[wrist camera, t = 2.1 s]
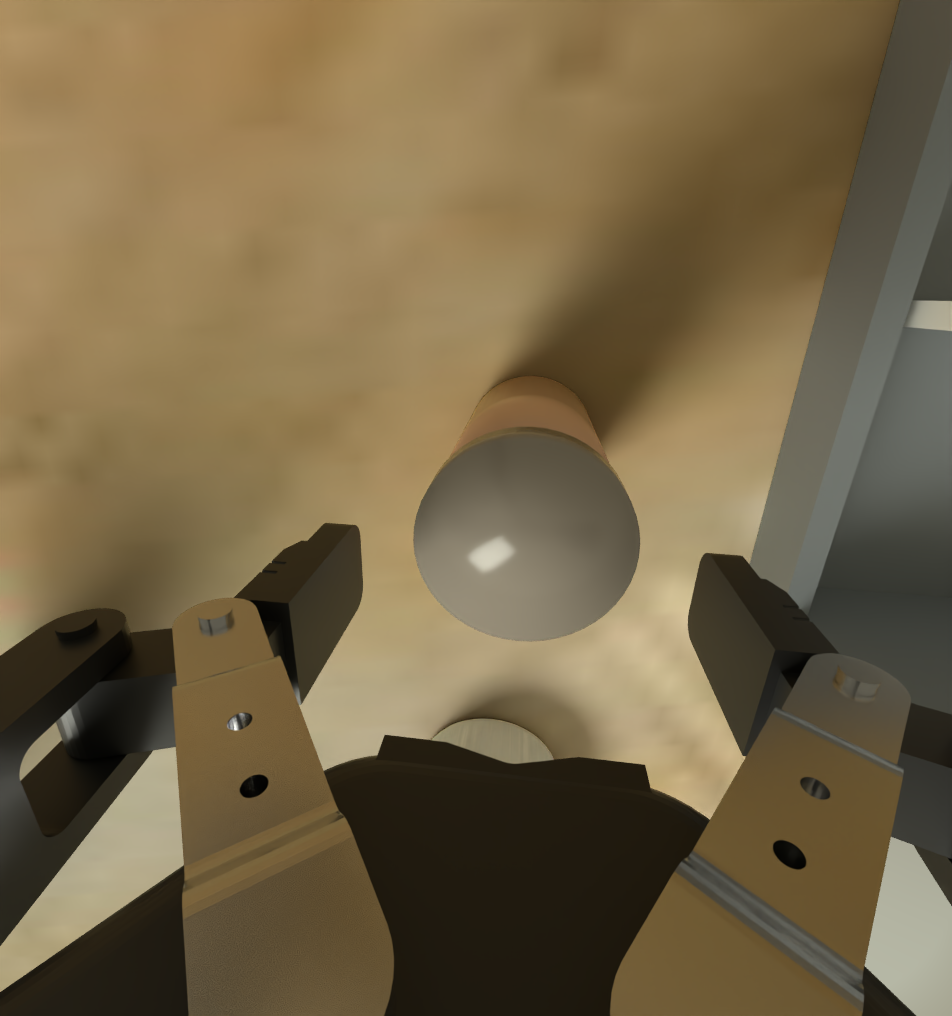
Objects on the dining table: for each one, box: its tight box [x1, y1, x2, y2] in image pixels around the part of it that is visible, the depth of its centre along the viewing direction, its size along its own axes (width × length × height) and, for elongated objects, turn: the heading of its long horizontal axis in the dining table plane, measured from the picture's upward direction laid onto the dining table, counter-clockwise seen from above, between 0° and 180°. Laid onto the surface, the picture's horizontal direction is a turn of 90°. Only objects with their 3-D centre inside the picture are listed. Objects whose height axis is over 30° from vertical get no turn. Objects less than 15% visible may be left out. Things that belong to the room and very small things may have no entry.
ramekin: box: [432, 719, 554, 764], centre depth 28 cm, size 9×9×4 cm
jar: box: [414, 376, 640, 641], centre depth 18 cm, size 6×6×11 cm
